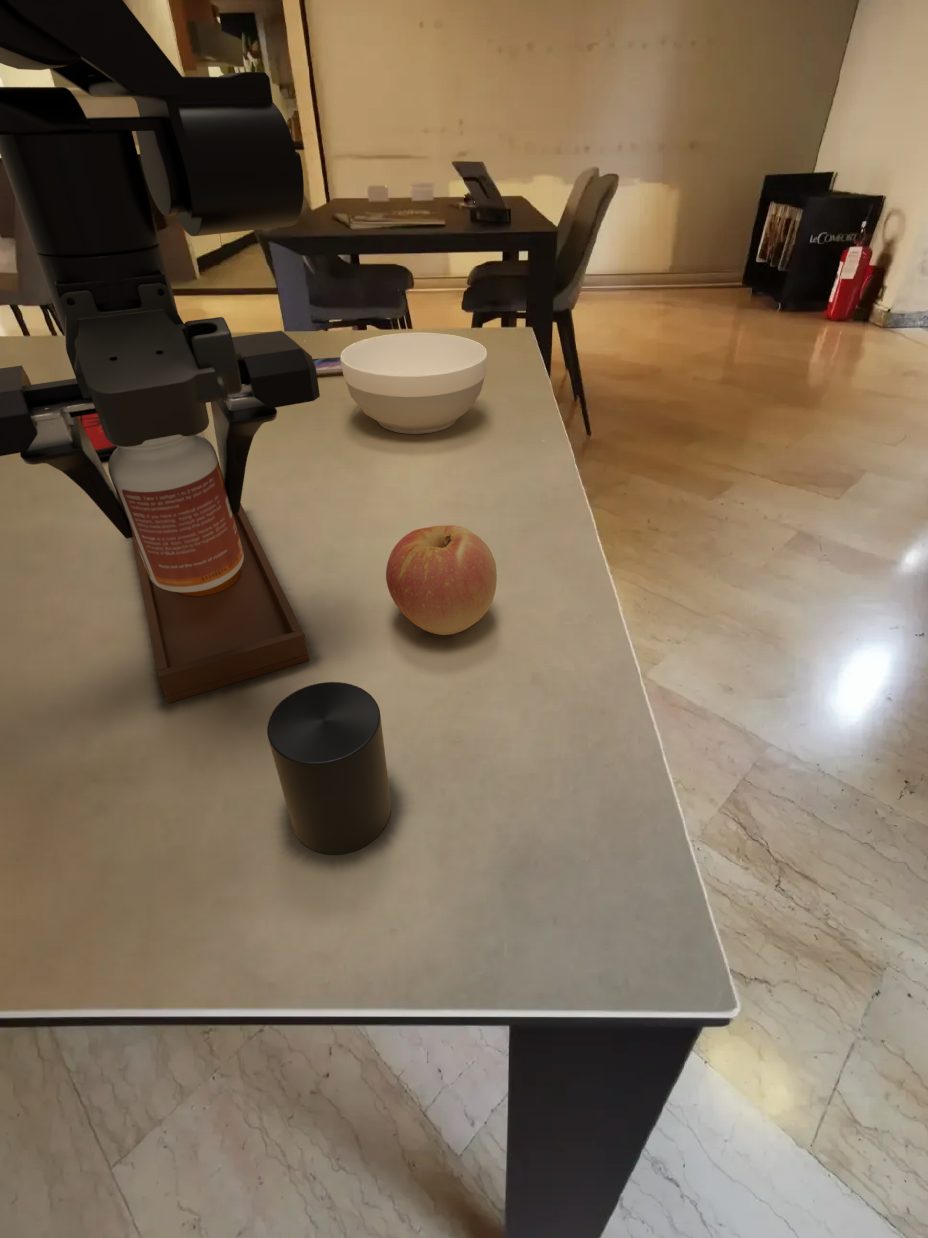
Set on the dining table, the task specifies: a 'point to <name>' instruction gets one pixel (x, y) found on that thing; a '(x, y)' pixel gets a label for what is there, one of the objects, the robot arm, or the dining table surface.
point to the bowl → (415, 379)
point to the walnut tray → (222, 626)
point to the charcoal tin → (331, 765)
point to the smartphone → (328, 366)
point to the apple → (442, 578)
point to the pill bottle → (178, 511)
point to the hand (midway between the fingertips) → (183, 523)
